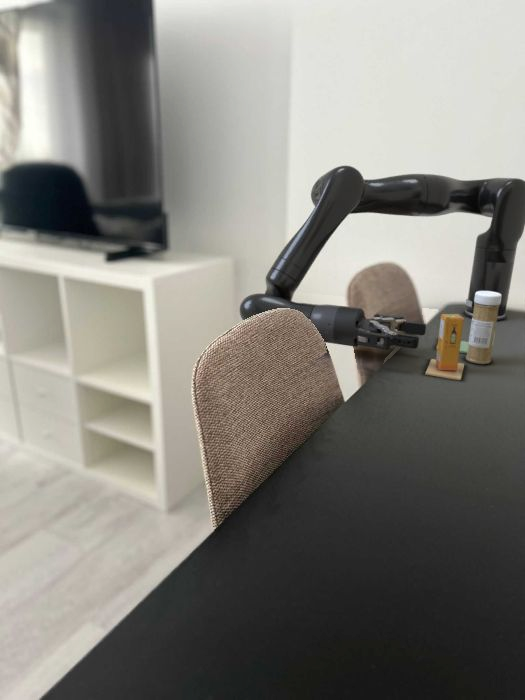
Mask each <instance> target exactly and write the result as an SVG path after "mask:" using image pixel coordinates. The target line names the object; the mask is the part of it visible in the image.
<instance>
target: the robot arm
mask: <svg viewBox="0 0 525 700" xmlns="http://www.w3.org/2000/svg"><path fill="white" fill-rule="evenodd" d="M310 198H311V202H312V204H313V206H314V208H313V209H312V211H311V213H310V214H309V216H308V218H307V219H306V221H305V222H304V223H303V224H302V226H301V227H300V228H299V229H298V230H297V231H296V233H295V234H294V235H293V236H292V237H291V239H289V241H288V242H287V243H286V245H285V246H284V247H283V249H282V250H280V251H281V252H280V253H279V254H278V256H277V257H276V259H275V260H274V262H273V263H272V265H271V267H270V268H269V270H268V272H267V273H266V276H265V285H266V289H265V291H264V293H259V292H258V293H252V294H250V295H248V296H246V297H244V299H243V300H242V301H241V303H240V305H239V309H238V310H239V316H240V318H241V320H242V321H243V320H245V319H247V318H249V317H251V316H253V315H256V314H259V313H262V312H265V311H268V310H272V309H277V308H290V309H295V310H298V311H300V312H302V313H303V314H304V315H305V316H306V317H307V318H308V319H310V320H311V322H312V323H313V324H314V325H315V327H316V328H317V330H318V331H319V333H320V334H321V336H322V338H323V339H324V342H323V343H327V344H334V345H341V346H347V347H355V348H356V347H359V346H362V347H368V348H373V349H381V350H385V351H388V350H390V349H391V348H396V347H401V348H407V349H415V350H416V349H417V348H418V347H419V342H420V337H419V336H425V335H426V330H427V324H426V323H424V322H414V321H407V319H405V317H404V316H397V315H390V314H389V315H387V314H379V313H376V314H373V317H372V318H366V316H365V311H364V309H363V308H362V307H356V306H355V307H353V306H346V305H336V304H315V303H309V302H308V303H307V302H299V301H298V302H296V301H293V298H294V294H295V292H296V291H297V290H298V288H299V286H300V285H301V283H302V282H303V280H304V278H305V277H306V276H307V274H308V272H309V270H310V269H311V267H312V265H313V264H314V262H315V261H316V260H317V257H318V256H319V255H320V253H321V252H322V250H323V249H324V248H325V246H326V243H328V241H329V240H330V238H332V236H333V235H334V233H335V232H336V230H337V229H338V228H339V227H340V226H341V224H342V223H343V222H344V220H345V219H346V218H347V217H348V216H349V215H352V214H354V215H355V214H381V215H389V216H404V217H405V216H406V217H425V218H427V217H439V216H440V217H441V216H445V215H449V214H453V213H464V214H472V215H477V216H482V217H487V218H491V222H490V226H489V228H487V230H485V231H484V232H481V233H479V234H478V235H477V236H476V240H475V246H474V253H473V260H472V267H471V274H470V281H469V287H468V288H469V289H468V294H467V299H465V305H466V306H465V307H466V308H465V310H464V315H465V316H467V317H470V318H472V317H473V312H474V303H475V302H474V298H475V293H476V292H478V291H492V292H497V293H500V294H501V295H502V297H501V304H500V306H499V308H498V315H497V321H502V320H504V319H506V311H507V306H508V300H509V294H510V289H511V282H512V277H513V272H514V268H515V267H514V266H515V261H516V255H517V249H518V244H519V242H520V240H521V238H522V237H523V234H524V231H525V180H524V179H521V178H516V177H493V178H484V179H472V180H471V179H470V180H467V179H466V180H462V179H457V178H453V177H450V176H447V175H441V174H431V173H407V174H406V173H405V174H399V175H393V176H387V177H381V178H374V179H365V178H364V177H363V175H362V173H361V171H359V170H358V169H357V168H356V167H353V166H351V165H340V166H336V167H334V168H332V169H330V170H329V171H327V172H325V173H324V174H322V176H320V177H319V178H318V179H317V180H316V181H315V183H314V184H313V186H312V188H311V191H310Z"/></svg>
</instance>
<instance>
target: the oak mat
mask: <svg viewBox="0 0 525 700" xmlns="http://www.w3.org/2000/svg"><path fill="white" fill-rule="evenodd" d="M464 368H465V363H462V362H458V367H457V371H446V370H443V371H442V370H439V369H438V368H437V366H436V358H431V359H430V362H429V364H428V365H427V369H426V371H425V372H424V373H425V376H430V377H437V378H443V379H450V380H454V381H455V380H456V381H461V380H462V377H463V374H464V373H463V372H464Z"/></svg>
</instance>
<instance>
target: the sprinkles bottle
mask: <svg viewBox="0 0 525 700" xmlns="http://www.w3.org/2000/svg"><path fill="white" fill-rule="evenodd" d="M501 297H502V295H501V294H500V293H497V292H492V291H478V292H476V293H475V298H474V302H475V303H474V312H473V317H471V324H470V328H469V329H470V330H469V336H468V341H467V342H468V343H469V345H468V351H467V353H466V356H465V360H466V361H468V362H470V363H472V364H477V365H486V364H490V363H491V361H492V351H493V346H494V342H495V338H496V337H495V335H496V327H497V321H498V320H497V315H498V308H499V306H500V304H501Z"/></svg>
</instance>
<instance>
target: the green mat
mask: <svg viewBox="0 0 525 700" xmlns="http://www.w3.org/2000/svg"><path fill="white" fill-rule="evenodd" d="M468 342H469V341H465V340H461V344H460V351H459V354H460V353H461V354H467V351H468V345H469V343H468ZM437 347H438V344H437V345H436V347H435V350H437Z"/></svg>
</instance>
